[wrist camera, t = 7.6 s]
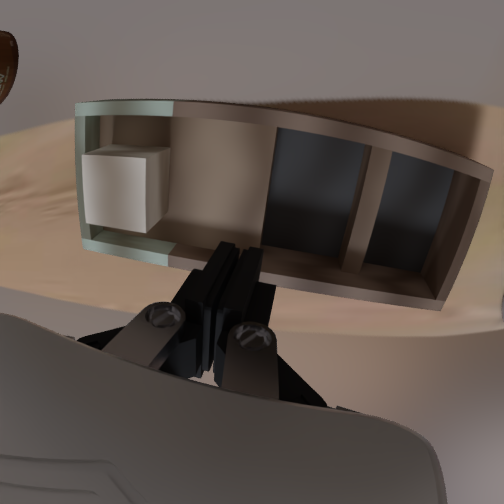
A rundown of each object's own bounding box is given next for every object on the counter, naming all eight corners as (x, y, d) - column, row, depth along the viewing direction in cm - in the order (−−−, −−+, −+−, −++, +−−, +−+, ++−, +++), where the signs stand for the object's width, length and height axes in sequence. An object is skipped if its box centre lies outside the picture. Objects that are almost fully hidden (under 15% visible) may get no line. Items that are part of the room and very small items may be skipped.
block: (170, 147, 21) (146, 158, 17) (168, 212, 23) (145, 233, 20) (112, 144, 21) (81, 154, 18) (112, 204, 24) (85, 223, 20)
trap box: (465, 156, 20) (494, 170, 16) (424, 282, 26) (440, 311, 22) (107, 99, 22) (75, 103, 18) (108, 227, 28) (83, 248, 24)
